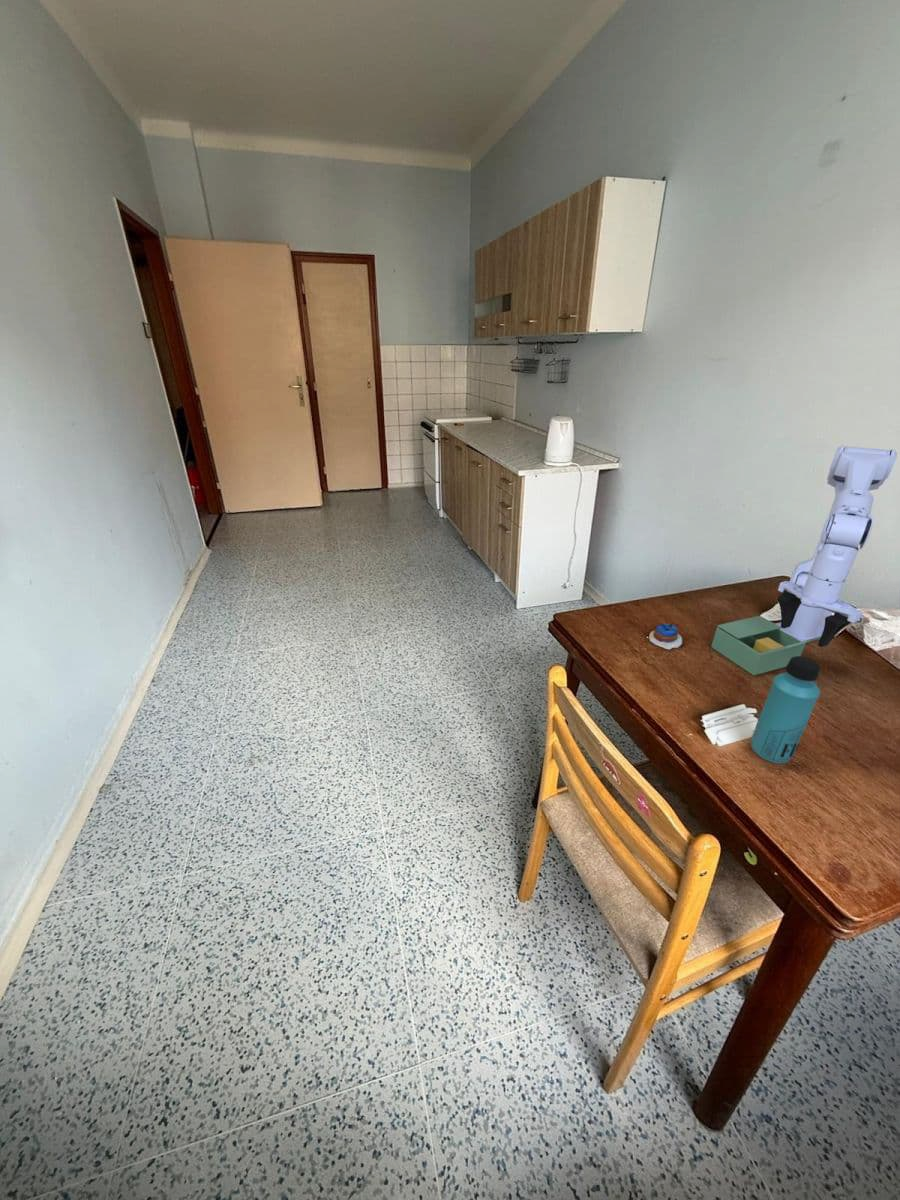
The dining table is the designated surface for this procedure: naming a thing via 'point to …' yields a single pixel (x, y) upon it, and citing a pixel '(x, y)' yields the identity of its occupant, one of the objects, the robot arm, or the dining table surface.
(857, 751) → the dining table surface
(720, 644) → the green storage box
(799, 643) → the flap
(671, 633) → the dessert
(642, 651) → the dining table surface
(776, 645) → the yellow block
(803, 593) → the robot arm
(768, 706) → the beverage bottle
